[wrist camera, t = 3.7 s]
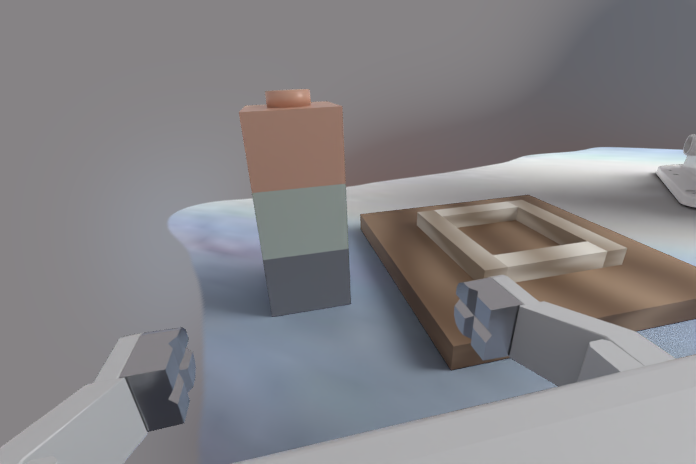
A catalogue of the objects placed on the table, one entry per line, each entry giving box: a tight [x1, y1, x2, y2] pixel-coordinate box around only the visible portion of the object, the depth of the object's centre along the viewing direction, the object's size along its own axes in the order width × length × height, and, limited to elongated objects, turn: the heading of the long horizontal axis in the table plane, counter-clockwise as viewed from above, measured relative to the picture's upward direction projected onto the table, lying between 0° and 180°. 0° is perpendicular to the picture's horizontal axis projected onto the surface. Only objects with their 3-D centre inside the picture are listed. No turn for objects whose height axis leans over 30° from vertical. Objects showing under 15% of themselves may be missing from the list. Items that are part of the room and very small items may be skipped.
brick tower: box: [239, 89, 351, 317], centre depth 21 cm, size 5×5×13 cm
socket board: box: [360, 195, 696, 370], centre depth 26 cm, size 18×18×3 cm
